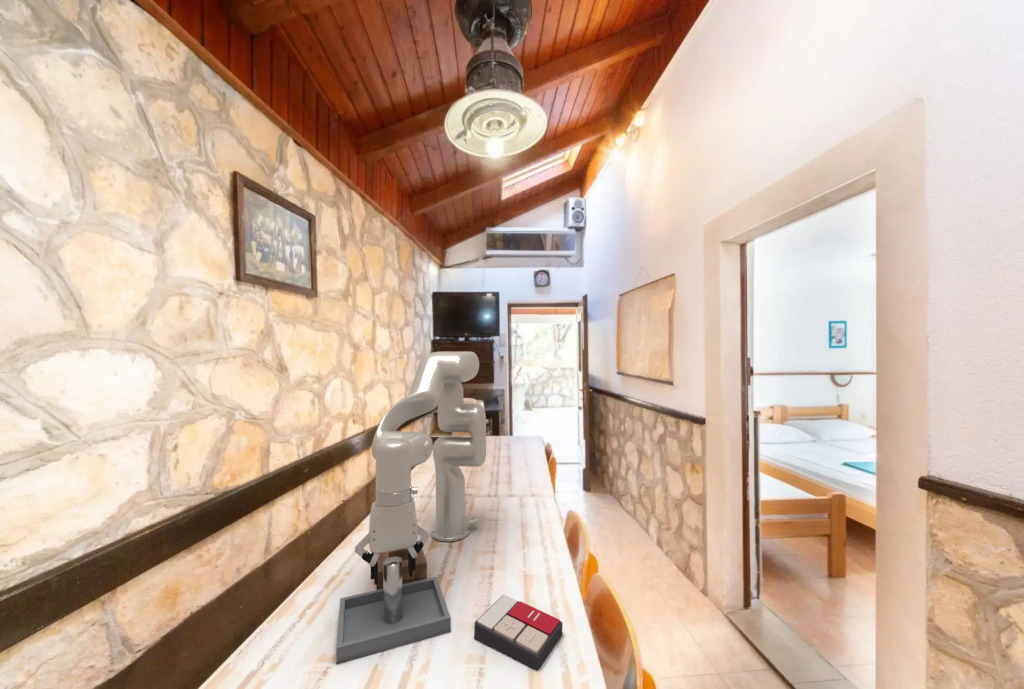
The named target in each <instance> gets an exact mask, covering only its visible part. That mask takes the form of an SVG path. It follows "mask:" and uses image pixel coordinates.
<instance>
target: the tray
mask: <svg viewBox="0 0 1024 689" xmlns="http://www.w3.org/2000/svg"><path fill="white" fill-rule="evenodd" d="M402 597H403V616H402V618H401V619H400V620H399V621H397V622H394V623H386V622H385V621H384V594H383V589H379V590H376V589H374V590H371V591H367V592H366V591H365V592H363V593H362V592H361V593H358V594H353V595H349V596H344V597H340V598H339V609H338V625H337V639H336V665H339V664H343V663H345V662H346V663H347V662H350V661H354V660H356V659H360V658H364V657H367V656H370V655H375V654H377V653H381V652H385V651H388V650H391V649H395V648H396V649H397V648H399V647H403V646H405V645H409V644H413V643H416V642H420V641H423V640H427V639H430V638H434V637H437V636H441V635H445V634H448V633H451V631H452V630H451V629H452V628H451V627H452V626H451V624H452V623H451V622H452V620H451V615H450V611H449V609H448V606H447V603H446V600H445V598H444V595H443V592H442V589H441V587H440V584H439V581H438V577H437V576H434V577H429V578H428V577H427V579H424V580H419V581H415V582H410V583H406V584H402Z"/></svg>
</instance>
